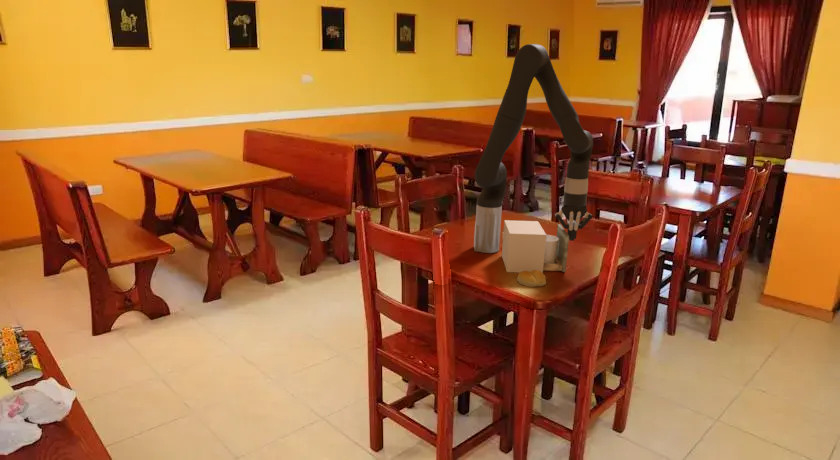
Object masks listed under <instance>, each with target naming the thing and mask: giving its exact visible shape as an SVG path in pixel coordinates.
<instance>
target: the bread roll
mask: <svg viewBox="0 0 840 460" xmlns="http://www.w3.org/2000/svg"><path fill="white" fill-rule="evenodd" d="M516 278H517V279H516V280H517V282H518V283H519V284H520V285H522V286H526V287H529V288H530V287H532V288H533V287H543V286H545V285H546V284H547V281H546V279H547V278H546V275H545V274H544V272H543V273H542V272H541V271H538V270H533V271H531V272H529V271H522V272H518V275H517V277H516Z"/></svg>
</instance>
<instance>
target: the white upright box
mask: <svg viewBox="0 0 840 460" xmlns="http://www.w3.org/2000/svg"><path fill="white" fill-rule="evenodd" d="M502 235H503V236H502V247H501V248H502V249H501V250H502V251H501V257H502V260H503V261H502V262H503V264H504V267H505V270H506V272H507V273H520V272H522V271H529V272H531V271H533V270H538V271H541V272H542V273H543V274H544V270H543V266H544V255H545V244H546V235H547V233H546V232H545V230H544V228H543V227H542V226H541V224H540V222H539V221H537V220H508V219H505V220H503V234H502Z"/></svg>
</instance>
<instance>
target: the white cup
mask: <svg viewBox="0 0 840 460" xmlns="http://www.w3.org/2000/svg"><path fill="white" fill-rule="evenodd" d="M558 242H559V238H558V237H557V235H552V234H551V235H550V234H546V244H545V255H544V263H551V264H555V259H556V255H557V249H558Z"/></svg>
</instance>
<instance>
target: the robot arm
mask: <svg viewBox="0 0 840 460" xmlns="http://www.w3.org/2000/svg"><path fill="white" fill-rule="evenodd" d="M534 78H535V80H536V81H537V83H538V84H539V85H540V88H541V90H542V93H543V95H544V99H545V102H546V104H547V108H548V109H549V112H550V113H551V116H552V118H553V119H554V121H555V123H556V124H557V126H558V127H559V129H560V132H561V135H562V138H563V139H564V143H565V145H566V146H567V149H569V150H570V158H569V160H568V163H567V168H566V175H565V181H564V182H565V183H564V187H563V188H564V189H563V191H564V193H563V203H562V207H561V210H559V211H558V212H555V213H554V215H555V217H556V219H557V220H558V222H560V223H559V224H561V226H562V227H563V228H564V230H567V231H566V232H567V234H568V235H569V242H572V241H573V242H575V240H576V239H577V232H578V230H582V229H584V227H585V226H586V225H587V224H588V223H589V222H590V221H591V220H592V219H593V214H592V213H590V212H588V208H587V200H588V190H589V189H588V188H589V172H590V162H591V161H590V160H591V156H592V152H593V147H594V139H593V135H592V134H591V132H590V131H587V130H585V129H584V128H583V127H582V125H581V123H580V120H579V119H580V117H579V115H578V112H577V111H576V109H575V107H574V105H573V103H572V102H571V101H570V99H569V97H568V95H567V93H566V92H565V90H564V88H563V86H562V84H561V82H560V80H559V78H558V76H557V74H556V71H555V69H554V67H553V63H552V61H551V58H550V56H549V53H548V51H547V48H545V47H544V46H543V45H541V44H538V43H528V44H525V45H522V46H521V47H520V48H519V49H518V50H517V52H516V54H515V57H514V60H513V64H512V69H511V73H510V77H509V81H508V84H507V87H506V89H505V92H504V94H503V97H502V99H501V102H500V105H499V108H498V111H497V114H496V116H495V120H494V122H493V126H492V128H491V132H490V134H489V137H488V140H487V143H486V145H485V149H484V150H483V153H482V155H481V157H480V159H479V162H478V164H477V166H476V169H475V171H474V180H475V183H476V185H477V186H479V188H481V192H480V193H479V195H477V197H476V198H477V199H476V210H475V211H476V212H475V214H476V215H475V223H474V233H473V234H474V236H473V249H474V252H479V253H483V254H484V253H485V254H493V253H497V252H499V251H500V241H501V240H500V239H501V238H500V237H501V225H502V211H503V210H502V209H503V201H504V198H505V197H506V196H505V195H506V189H507V180H508V178H507V177H508V171H507V168H506V165H505V164H504V163H503V162H502V161H503V158H504V155H505V153H506V152H507V150H508V149H509V147H511V145H512V144H513V142H514V141H515V140H516V138H517V137H518V135H519V133H520V131H521V128H522V125H523V123H524V120H525V117H526V113H527V106H528V94H529V91H530V87H531V85H532V83H533V80H534ZM563 217H565V219H567V221H566V222H567V223H566V222H565V220H564V219H563ZM581 219H582V220H581ZM580 220H581V221H580Z"/></svg>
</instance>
